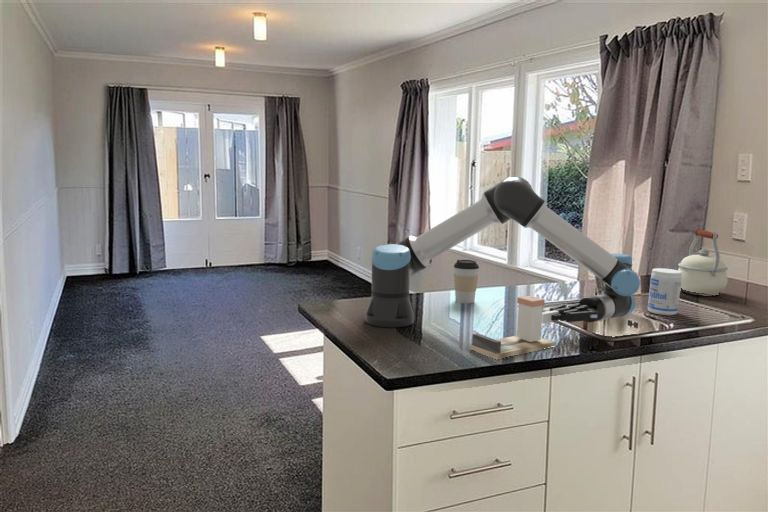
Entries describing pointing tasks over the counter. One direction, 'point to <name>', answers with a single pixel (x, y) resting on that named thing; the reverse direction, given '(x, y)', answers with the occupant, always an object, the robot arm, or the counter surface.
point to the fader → (529, 318)
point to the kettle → (703, 268)
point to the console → (506, 346)
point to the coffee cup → (465, 280)
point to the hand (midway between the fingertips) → (541, 318)
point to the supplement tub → (664, 291)
